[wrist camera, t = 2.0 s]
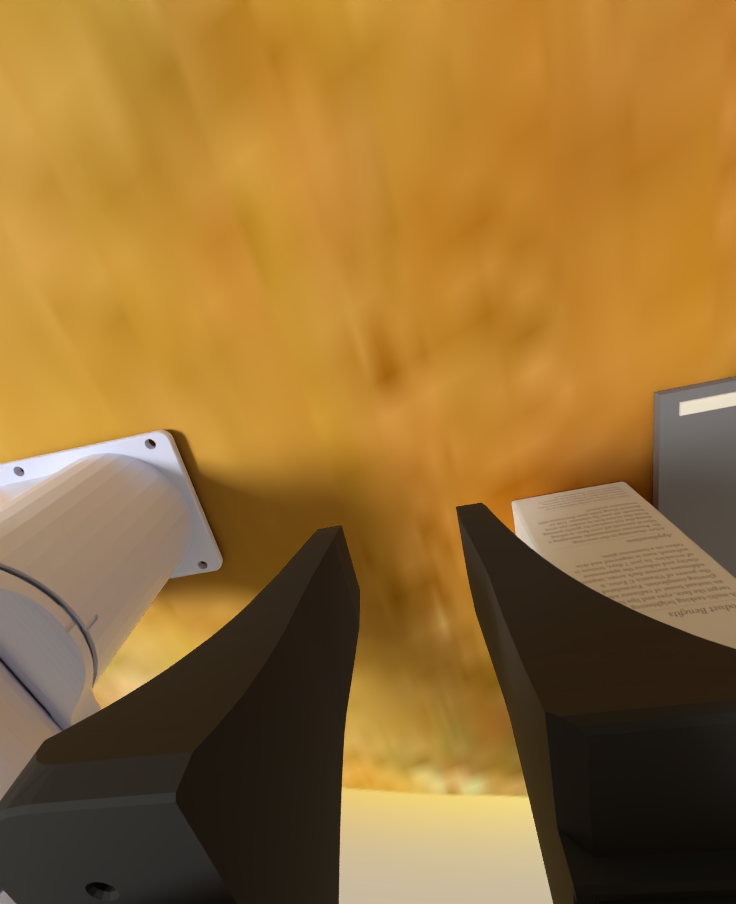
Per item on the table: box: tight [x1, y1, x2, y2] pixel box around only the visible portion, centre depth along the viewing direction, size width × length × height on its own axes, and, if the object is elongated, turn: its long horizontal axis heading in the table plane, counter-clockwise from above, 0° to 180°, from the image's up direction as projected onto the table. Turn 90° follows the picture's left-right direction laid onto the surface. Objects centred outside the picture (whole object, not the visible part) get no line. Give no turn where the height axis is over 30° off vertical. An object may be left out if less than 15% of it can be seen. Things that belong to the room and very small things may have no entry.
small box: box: [512, 481, 736, 649], centre depth 18 cm, size 8×6×10 cm
